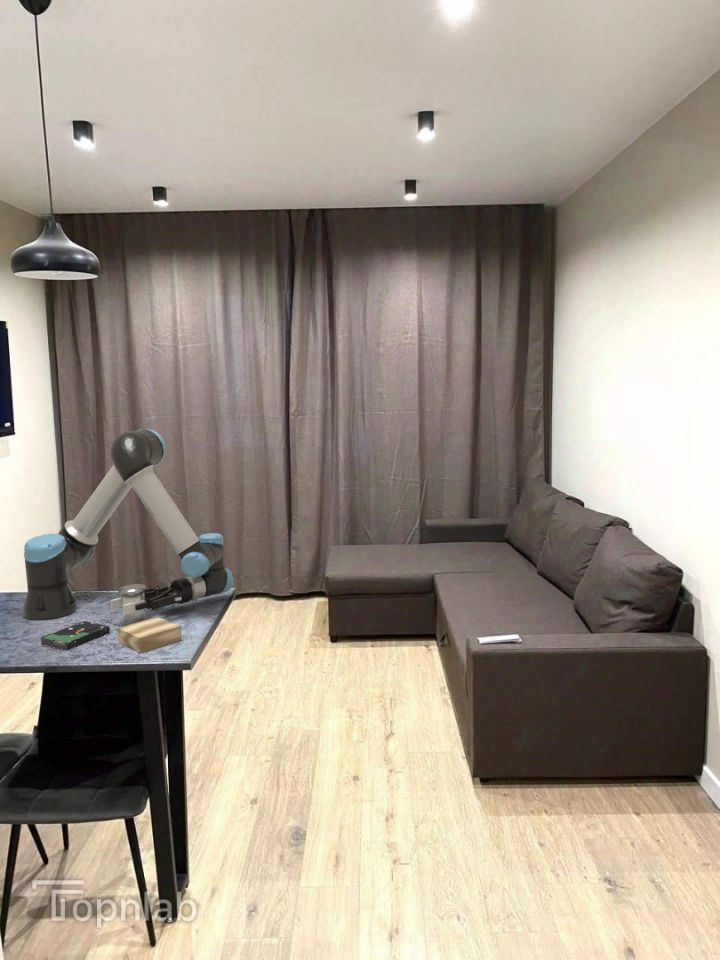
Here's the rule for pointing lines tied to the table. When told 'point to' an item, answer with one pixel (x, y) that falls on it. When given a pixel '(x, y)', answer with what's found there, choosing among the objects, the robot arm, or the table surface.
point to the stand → (149, 634)
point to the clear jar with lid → (129, 596)
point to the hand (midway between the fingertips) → (117, 607)
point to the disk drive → (75, 635)
